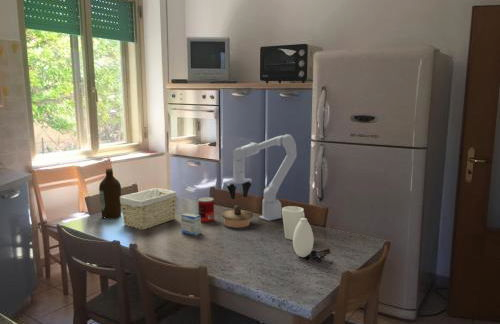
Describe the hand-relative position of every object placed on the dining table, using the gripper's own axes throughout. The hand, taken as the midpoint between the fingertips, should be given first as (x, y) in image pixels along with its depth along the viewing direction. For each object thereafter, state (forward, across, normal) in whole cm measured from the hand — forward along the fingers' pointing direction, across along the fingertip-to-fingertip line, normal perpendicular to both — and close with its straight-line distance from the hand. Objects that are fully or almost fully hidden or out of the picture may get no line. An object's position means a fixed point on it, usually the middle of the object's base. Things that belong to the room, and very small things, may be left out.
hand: (239, 197), depth 216 cm
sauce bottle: (+11, +11, +58) cm, 60 cm away
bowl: (+10, +7, +8) cm, 15 cm away
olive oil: (+11, +52, -41) cm, 67 cm away
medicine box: (+11, +32, +7) cm, 34 cm away
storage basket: (+11, +40, -20) cm, 46 cm away
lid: (+6, +7, +8) cm, 13 cm away
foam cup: (+11, -1, +39) cm, 40 cm away
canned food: (+11, +16, -6) cm, 20 cm away
